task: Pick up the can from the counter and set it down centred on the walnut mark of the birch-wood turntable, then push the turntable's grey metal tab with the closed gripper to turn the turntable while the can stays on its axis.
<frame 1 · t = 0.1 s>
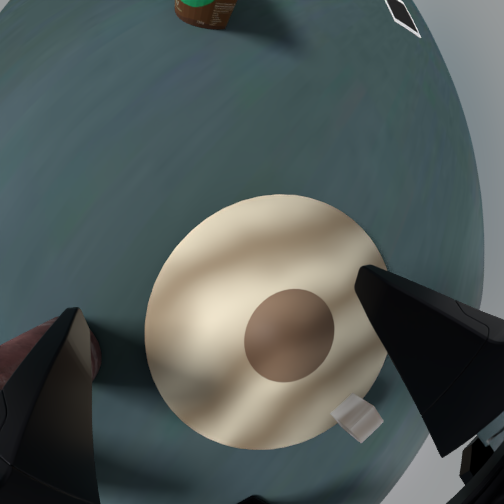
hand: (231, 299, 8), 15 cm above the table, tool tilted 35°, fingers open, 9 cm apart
can: (71, 346, 19), on the table
turntable: (300, 345, 21), point 4 cm above the table, hinge at 0.0°
cell phone: (397, 11, 35), on the table
food container: (190, 11, 23), on the table
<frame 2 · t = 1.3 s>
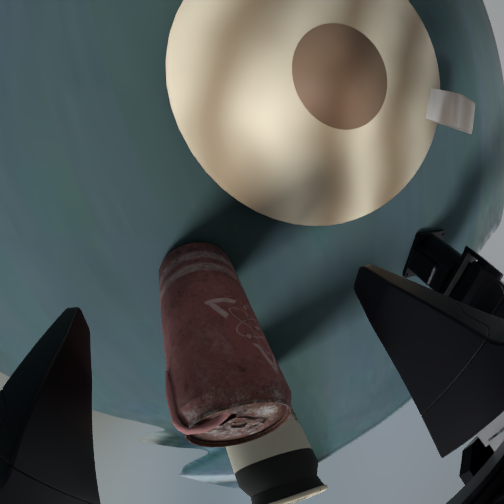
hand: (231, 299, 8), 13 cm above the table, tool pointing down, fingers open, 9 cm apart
can: (193, 269, 23), on the table
turntable: (359, 77, 14), point 4 cm above the table, hinge at 0.0°
travel mug: (237, 366, 32), on the table
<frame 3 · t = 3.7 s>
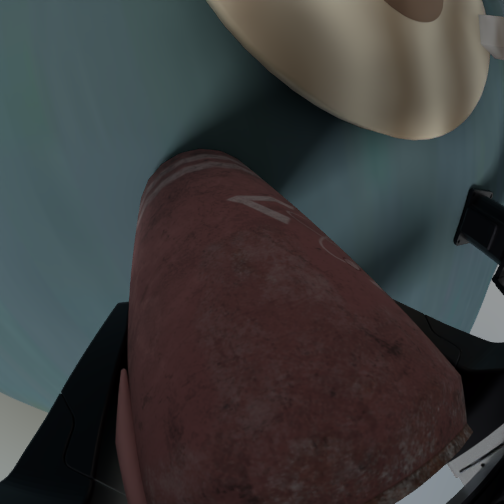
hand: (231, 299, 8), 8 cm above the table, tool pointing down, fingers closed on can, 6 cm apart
can: (196, 203, 14), on the table, touching gripper
when the fingers open (11 cm above the table, at t = 7.3 s): can stays where it is, resting on turntable.
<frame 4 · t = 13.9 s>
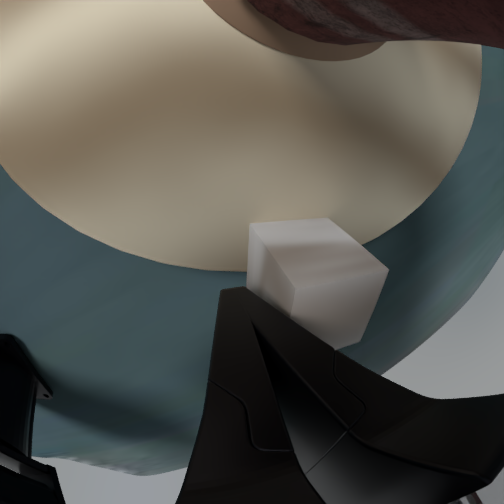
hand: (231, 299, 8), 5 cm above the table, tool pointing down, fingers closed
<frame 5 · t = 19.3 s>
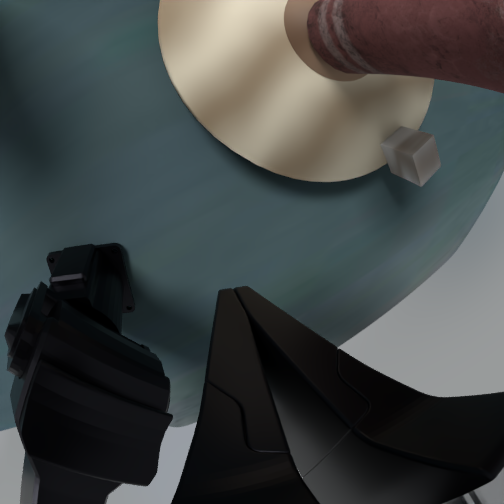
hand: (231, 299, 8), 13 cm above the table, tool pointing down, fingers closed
can: (339, 33, 13), point 3 cm above the table, touching turntable
turntable: (349, 33, 13), point 4 cm above the table, hinge at 39.9°, touching can
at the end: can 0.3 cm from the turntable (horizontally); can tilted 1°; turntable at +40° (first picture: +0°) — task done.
